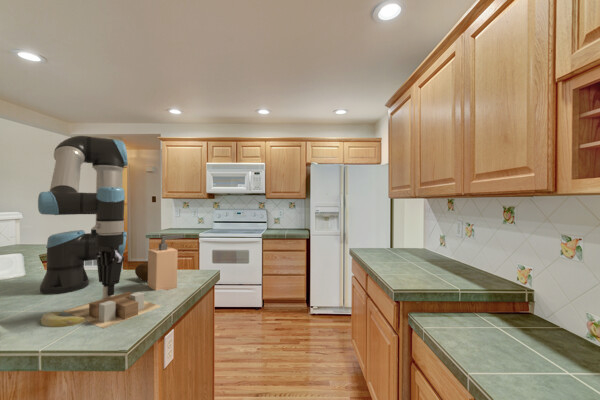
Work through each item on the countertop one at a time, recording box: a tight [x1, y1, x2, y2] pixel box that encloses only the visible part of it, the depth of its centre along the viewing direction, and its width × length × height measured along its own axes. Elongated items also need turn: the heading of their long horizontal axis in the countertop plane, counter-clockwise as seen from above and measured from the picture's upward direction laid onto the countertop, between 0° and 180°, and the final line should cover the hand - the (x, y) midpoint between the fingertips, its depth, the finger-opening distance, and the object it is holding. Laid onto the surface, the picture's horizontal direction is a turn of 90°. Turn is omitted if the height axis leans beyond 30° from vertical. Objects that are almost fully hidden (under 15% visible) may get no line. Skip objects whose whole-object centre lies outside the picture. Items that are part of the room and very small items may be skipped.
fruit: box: [40, 311, 87, 328], centre depth 79 cm, size 7×15×3 cm, turn 63°
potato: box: [134, 260, 148, 282], centre depth 123 cm, size 8×12×9 cm
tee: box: [88, 291, 139, 320], centre depth 85 cm, size 12×12×4 cm
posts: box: [99, 291, 145, 323], centre depth 84 cm, size 3×12×5 cm, turn 153°
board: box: [62, 294, 162, 329], centre depth 89 cm, size 24×18×1 cm
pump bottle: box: [147, 233, 184, 291], centre depth 114 cm, size 13×9×22 cm
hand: (108, 304), depth 88 cm, fingers closed
